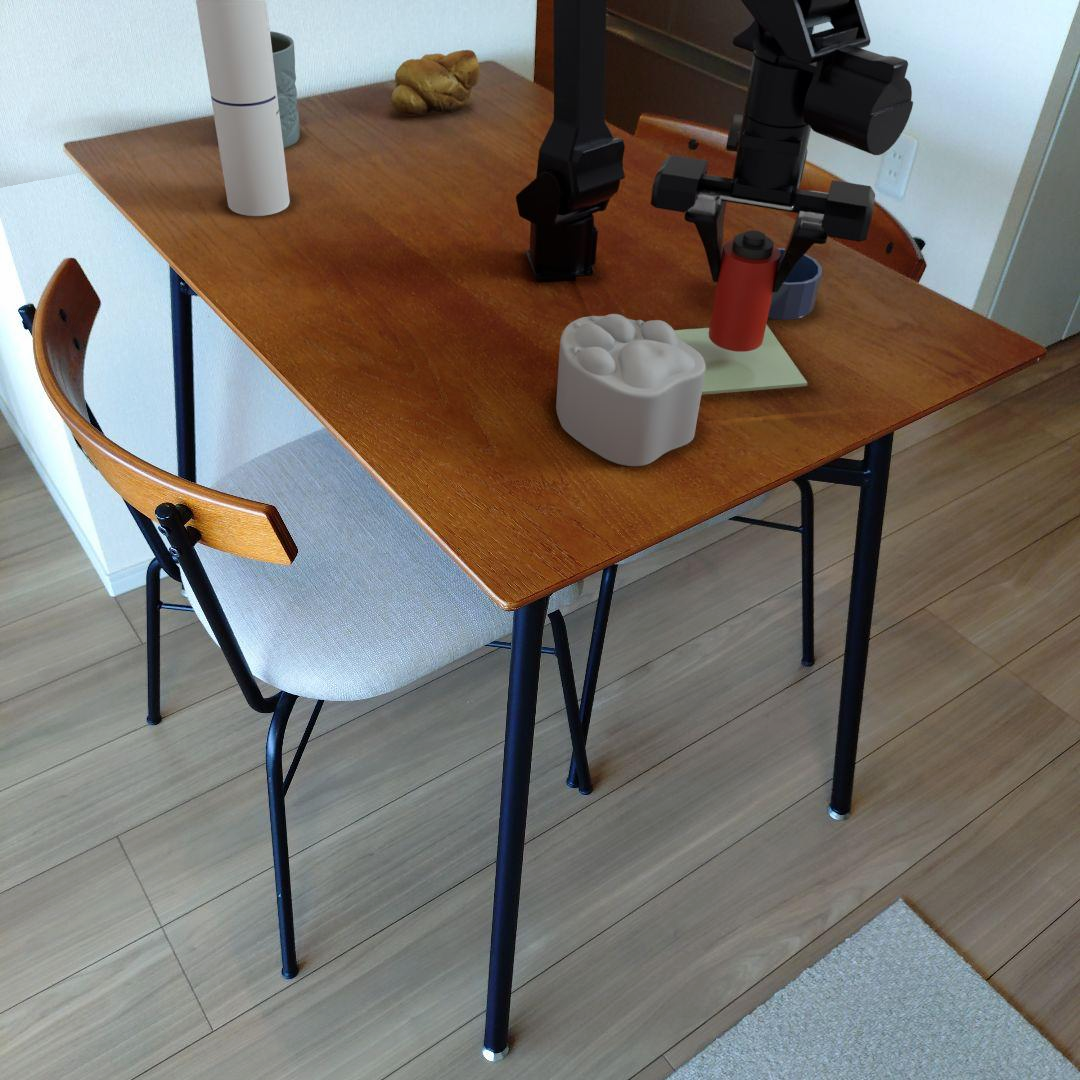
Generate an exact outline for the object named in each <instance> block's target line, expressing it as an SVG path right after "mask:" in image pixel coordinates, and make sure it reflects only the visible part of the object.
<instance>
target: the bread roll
mask: <svg viewBox="0 0 1080 1080" xmlns="http://www.w3.org/2000/svg"><path fill="white" fill-rule="evenodd" d="M480 72H481V71H480V63H479V59H478V57H477V54H476V53H475V51H473V50H472V49H462V50H456V51H453V52H449V53H448V54H446V55H444V54H443V53H431V54H430V53H429V54H427V53H426V54H424V55H422V57H421V58H416V59H415V58H414V59H413V58H411V59H407V60H405V61H403V62H402V63H401V64H400V65H399V66H398V68H397V69H396V71H395V74H394V79H395V87H394V90H393V92H392V93H391V100H390V101H391V106H392V107H393V109H394V110H395V111H396V112H397V113H399V114H400V115H405V116H413V117H420V116H424V115H427V114H429V113H431V112H433V113H452V112H456V111H457V110H460V109H462V108H464V107H466V106H467V104H468V103H469V101H470V98H471V93H472V90H473V87H475V86H477V84H478V83H479V82H478V81H479V78H480Z"/></svg>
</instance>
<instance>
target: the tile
mask: <svg viewBox="0 0 1080 1080" xmlns="http://www.w3.org/2000/svg"><path fill="white" fill-rule="evenodd" d="M709 328H710V327H701V328H686V329H673V330H674V331H675V333H676V336H677V338H679V339H680V340H682V341H683V342H685V343H686V344H688V345H689V346H691V347H692V348H694V349H695V350H696V351H697V352H699V353H700V355H701V356H702V357H703V359H704V361H705V366H706V369H705V376H704V382H703V388H702V394H701V396H703V395H714V394H715V395H716V394H725V393H728V394H729V393H741V392H751V391H763V390H765V391H766V390H775V389H776V390H777V389H787V388H788V389H789V388H800V387H807V386H808V381H807V380H806V379H805V377H804V376H803V374H802V372H801V371H800V370H799V368H798V367H797V365H796V364H795V363H794V361H793V360H792V359H791V357H790V356H789V354H788V352H787V351H786V350H785V349H784V347H783V346H782V344H781V343H780V341H779V340H778V339H777V337H776V335H775V334H774V333H773V331H772V330H771V329H770V327H769V325H768V324H766V328H765V333H764V338H763V342H762V344H761V346H760V347H758V348H757V349H755V350H751V351H746V352H737V351H730V350H726V349H723V348H721V347H719V346H717V345H715V344H714V343H713V342H712V341H711V340H710V338H709Z"/></svg>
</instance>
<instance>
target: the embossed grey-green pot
mask: <svg viewBox="0 0 1080 1080" xmlns="http://www.w3.org/2000/svg"><path fill="white" fill-rule="evenodd" d="M270 37H271V45H272V54H273V62H274V71H275V79H276V88H277V97H278V105H279V114H280V122H281V131H282V139H283V148H284V149H285V148H289V147H291V146H293V145H294V144H296V143H298V141H299V139H300V135H301V133H300V117H299V110H298V91H297V86H296V81H297V75H296V57H295V56H296V55H295V54H296V53H295V52H296V51H295V42H294V39H293V38H292V37H291V36H289V35H286V34H284V33H282V32H281V33H280V32H277V31H272V30H270Z"/></svg>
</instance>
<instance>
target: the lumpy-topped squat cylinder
mask: <svg viewBox="0 0 1080 1080" xmlns="http://www.w3.org/2000/svg"><path fill="white" fill-rule="evenodd" d="M674 330H675V329H674V328H673V327H672V326H671V325H670V324H669V323H667V322H666V321H664V320H660V319H654V320H653V319H652V320H651V319H650V320H647V321H644V320H642V319H637V320H635V319H632V318H631V319H630V318H626V316H624V315H621V314H618V313H610V314H607V315H590V316H583V317H580V318H577V319H575V320H573V321H571V322H570V323H569V324H568V325H566V326H565V328H564V330H563V331H562V333H561V337H560V341H559V354H558V367H557V368H558V370H557V386H556V400H555V401H556V402H555V403H556V404H555V410H556V414H557V418H558V420H559V423H560V425H561V428H562V429H563V430H564V431H565V432H566V433H567V434H568V435H570V436H571V437H572V438H573V439H574V440H576V441H577V442H579V443H580V444H581V445H583V446H584V447H585V448H587V449H589V450H590V451H591V452H593V453H595V454H596V455H598V456H599V457H601V458H603V459H605V460H607V461H609V462H612V463H614V464H617V465H621V466H628V467H642V466H647V465H649V464H652V463H654V462H655V461H656V460H657V459H659V458H660V457H662V456H663V455H664V454H666V453H669V452H670V451H673V450H675V449H678V448H681V447H684V446H686V445H689V443H691V442H692V441H693V440H694V438H695V435H696V428H697V423H698V422H697V421H698V417H699V413H700V412H699V410H700V404H701V399H702V395H701V394H702V388H703V382H704V376H705V369H706V366H705V361H704V359H703V357H702V356H701V355H700V353H699V352H697V351H696V350H695V349H694V348H692V347H691V346H689V345H688V344H686V343H685V342H683V341H682V340H680V339H679V338H677V336H676V333H675V331H674Z"/></svg>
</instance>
